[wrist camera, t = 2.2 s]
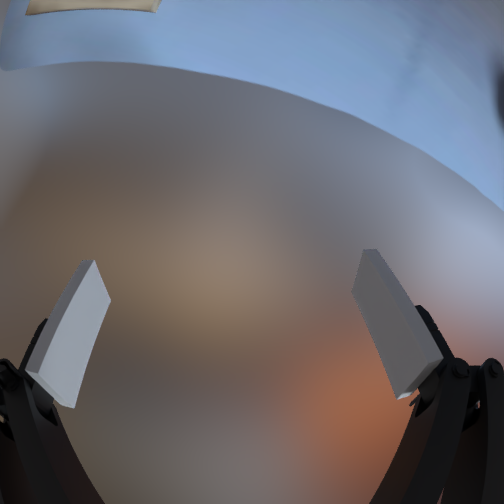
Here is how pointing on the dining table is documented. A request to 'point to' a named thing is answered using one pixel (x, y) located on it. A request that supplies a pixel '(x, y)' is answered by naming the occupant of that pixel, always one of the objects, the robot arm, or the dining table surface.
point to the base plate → (90, 5)
